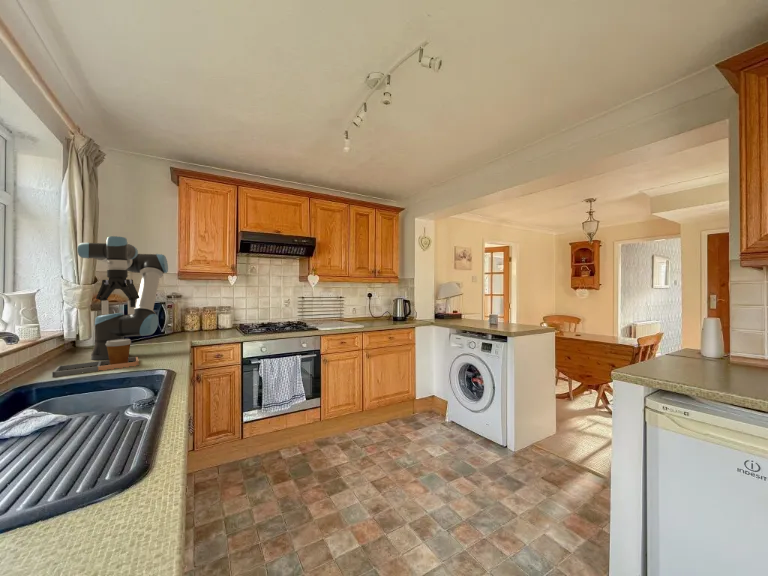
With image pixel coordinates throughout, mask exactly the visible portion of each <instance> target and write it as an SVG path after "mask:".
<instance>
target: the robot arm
mask: <svg viewBox="0 0 768 576" xmlns="http://www.w3.org/2000/svg"><path fill="white" fill-rule="evenodd" d="M76 252H77V255H78V256H79V258H81V259H94V260H97V261H100V262H103V263H105V264H106V268H107V270H106V277H107V278H108V279H102V280H101V285H100V287H99V290H98V292H97V295H96V296H95V299H96V300H99V301H100V307H101V315H98V316H96V317H95V320H94V321H95V322H94V337H95V340H94V341H95V343H94V347H93V349H92V351H91V354H90V355H91V356H90V359H91V360H93V361H105V360H109V356H108V350H107V346H106V345H105V344H106V343H107V341H110V340H117V339H125V337H141V336H142V337H143V336H144V337H145V336H151V335H153V334H154V333H155V332H156V330H157V328H158V326H159V316H158V314H156V312H155V311H154V307H155V302H156V297H157V292H158V287H159V283H160V279H161V278H163V276H164V274H167V273H168V272H169V265H168V260H167V257H166V255H165V254H162V253H161V254H159V253H155V254H154V253H153V254H151V253H139V251H138V248H136V246H135V245H132V244H131V243H130V244H129V243H128V240H127V237H124V236H117V235H116V236H114V235H113V236H108V237H107V238H106V243H103V242H102V243H101V242H80V243H79V244H78V245H77V251H76ZM129 272H130V273H137V274H138V273H139V274H140V275H141V279H140V284H139V288H138V291H137V289H136V287H135V285H134V280H133V279H132V278H131V279H129V278H128V276H129V275H128V273H129ZM115 290H121V291H122V292H123V294H124V295H125V296H126V297H127V298H128V300H127V314H125V313H124V312H116V313H109V311H110V310H109V309H110V308H109V300H108V298H109V297H110V296H111V295H112V294H113V292H114V291H115Z"/></svg>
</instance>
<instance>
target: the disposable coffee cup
mask: <svg viewBox="0 0 768 576" xmlns="http://www.w3.org/2000/svg"><path fill="white" fill-rule="evenodd" d="M131 344H132V341H131V339H130V338H124V339H117V340H110V341H107V343H106V344H105V345H106V346H107V350H108V356H109V359H108V360H109V362H110V364H109V365H113V364H121V363H129V362H128V358H130V357H129V356H130V349H131Z"/></svg>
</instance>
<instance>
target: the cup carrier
mask: <svg viewBox="0 0 768 576" xmlns="http://www.w3.org/2000/svg"><path fill="white" fill-rule="evenodd" d="M129 361H133V362H129ZM139 361H140V360H139V356H132V357H131V356H130V357H128V363H121V364H113V365H110V362H109V359H104V360H95V361H89V362H81V363H73V364H64V365H63V364H62V365H58V366H56V367H55V369H54V370H53V371H52V378H56V376H58V377H63V375H65V376H71V375H70V374H73V375H78V374H77V373H81V374H83V373H82V372H88V373H91V372H90V371H96V372H100V371H99V370H103V371H108V370H107V369H111V370H115V369H114V368H119V369H124V368H123V367H126V368H130V367H129V366H134V367H137V366H136V365H139V366H140V364H139ZM105 364H108V365H105ZM90 366H92V367H90ZM82 367H84V368H82ZM75 368H76V369H75ZM67 369H68V370H67Z"/></svg>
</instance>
